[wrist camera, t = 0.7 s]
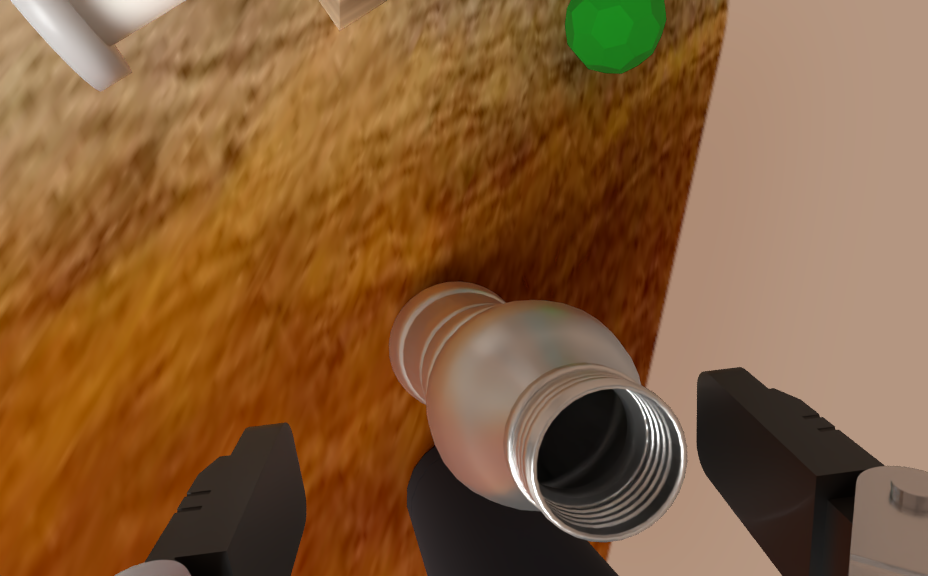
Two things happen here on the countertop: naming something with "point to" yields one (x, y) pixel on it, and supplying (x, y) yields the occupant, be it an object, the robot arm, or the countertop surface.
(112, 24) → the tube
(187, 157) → the countertop surface
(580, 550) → the wine bottle
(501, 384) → the plastic bottle
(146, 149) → the countertop surface
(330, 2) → the sleeve stand
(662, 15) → the polyhedron
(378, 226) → the countertop surface
